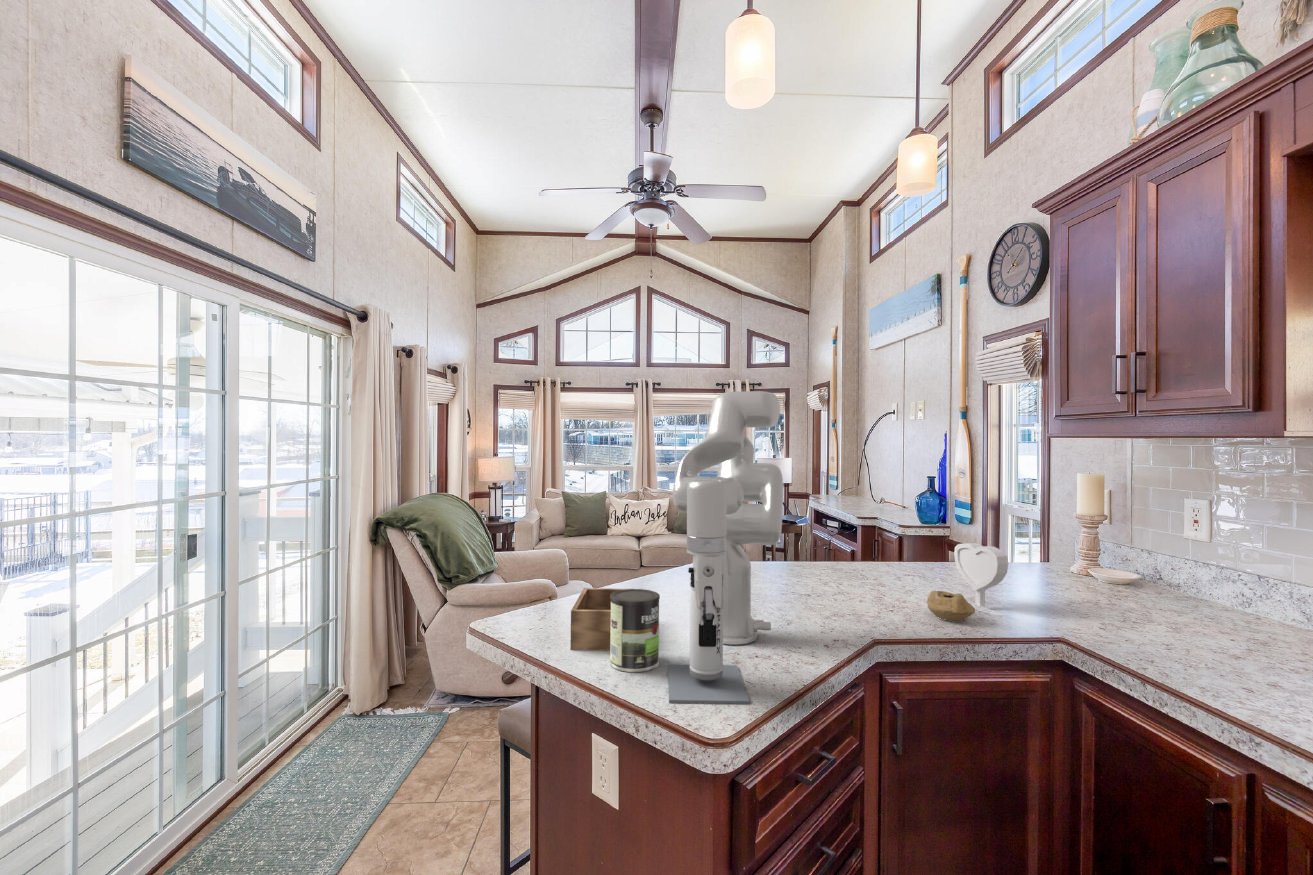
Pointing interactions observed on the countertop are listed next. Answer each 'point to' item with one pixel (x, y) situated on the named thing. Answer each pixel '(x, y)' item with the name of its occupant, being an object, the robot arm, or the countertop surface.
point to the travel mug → (704, 659)
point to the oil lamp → (949, 606)
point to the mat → (706, 687)
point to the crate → (592, 620)
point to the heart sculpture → (980, 567)
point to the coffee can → (634, 630)
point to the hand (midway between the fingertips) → (705, 638)
